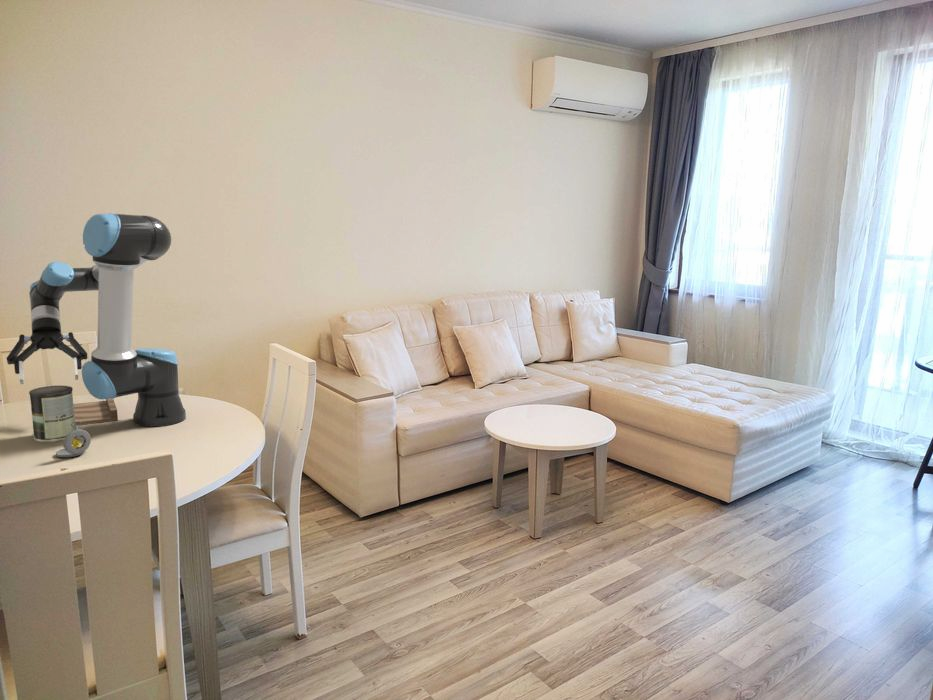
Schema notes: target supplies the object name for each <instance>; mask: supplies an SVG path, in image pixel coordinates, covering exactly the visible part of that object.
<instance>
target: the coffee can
mask: <svg viewBox="0 0 933 700" xmlns="http://www.w3.org/2000/svg"><path fill="white" fill-rule="evenodd" d="M28 394H29V398H30V408H31V418H32V419H31V420H32V429H33V440H34V441H36V442H38V443H39V442H40V443H50V442H51V443H52V442H59V441H60V440H61V441H64V439H65V437H66V435H67V434H68V433H70V432H71V431H73V430H75V428H74V427H72V426H74V424H75V420H74V407H73V404H74V398H73V387H72V386H70V385H69V386H68V385H47V386H41V387H36V388H33V389H31V390H29V392H28ZM73 422H74V423H73ZM72 423H73V424H72ZM71 424H72V426H71Z"/></svg>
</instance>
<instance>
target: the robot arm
mask: <svg viewBox="0 0 933 700" xmlns="http://www.w3.org/2000/svg"><path fill="white" fill-rule="evenodd" d="M82 243H83V244H82V245H84V250H85V251H86V253H87V254H88V255H90V256H92V262H93V263H94V265H93V266H91V267H72V266H71V265H69V264H68V263H66V262H62V261H60V260H59V261H58V260H55V261H51V262H50V263H48V264H47V266H46V267H45V268H44V269H43V271H42V272H41V275H40V277H39V279H38V280H36V281H34V282H32V283H31V284H30V287H29V294H28V295H29V300H30V301H29V302H30V321H31V335H29V336H27V335H26V336H25V335H24V334H19V335H18V336H19V338H18V341H17V342H16V344H15V345H14V346H13V348H12V350H11V351H10V352H9V354H8V356H7V357H6V363H7V364H8V365H14V366H13V367H14V373H15V374H16V375H19V382H20V383H19V384H20V385H24V384H25V383H24V381H25V380H24V362H25V361H27V359H28V358H29V357H30V356H32V355H33V354H34V353H37V352H38V350H47V349H48V350H54V349H57V350H59V351H62V353H65V354H66V355H68V356H69V357H70V358H72V359H73V367H74V376H75V381H76V380H79V372H78V370H81V378H82V382H83V384H84V387H85V388H86V390H87V391H88V393H89V394H90V395H91V396H93V397H94V398H95V399H97V400H106V399H109V398H113V399H116V398H119V397H123V396H129V395H134V394H137V398H138V399H137V402H136V404H135V410H134V413H133V415H132V417H133V419H132V420H133V424H134V425H137V426H141V427H162V426H170V425H174V424H178V423H181V422H184V420H186V419H187V418H186V417H187V413H186V412H187V411H186V409H185V408H184V406H183V403H182V400H181V398H180V394H179V393H180V391H179V373H178V371H179V370H178V365H179V363H178V357H177V354H176V352H175V351H173V350H170V349H164V348H137V349H135V350H134V349H133V348H132V333H133V332H132V331H133V329H132V328H133V325H132V324H133V299H134V297H133V296H134V270H135V269H137V268H138V267H140V266H141V265H143V264H145V263H146V262H148V261H149V262H151V261H156V260H158V259H159V258H161V257H162V256H164V255H165V254H166V253H167V252H169V250H170V247H171V245H172V235H171V231H170V229H169V228H168V227H167V225H166V224H165V223H164V222H162V220H160V219H158V218H156V217H153V216H150V215H136V214H135V215H134V214H126V213H125V214H124V213H121V214H120V213H111V212H109V213H96V214H94V215H92V216H90V218H89V219H88V220H87V221H86V223H85V225H84V228H83V233H82ZM88 291H89V292H90V291H92V292H93V291H98V294H97V295H98V296H97V298H98V300H97V347H96V348H95V349H94V350H92V351H91V353H90V354H91V357H90V360H89V361H86V362H85V363H84V364H82V361H83V360H87V359H88V352H87V350H85V349H84V348H83V347H82V345H81V344H80V343H79V342H78V340H77V339H76V338H75V335H74V333H73V332H71V331H70V332H68V334H63V333H62V327H61V326H62V325H61V317H60V316H61V314H60V313H61V312H60V301H61V299H62V297H63V296H64V294H65V293H66V292H67V293H68V292H69V293H70V292H71V293H72V292H88ZM63 340H65V341H67V342H68V343H69V344H70V345H71V347H73V348H71V347H70V346H69V345H67V344H65V343H64V342H63ZM28 342H31V343H30V345H29V346H27V348H25V345H27V344H28ZM24 348H25V349H24ZM23 349H24V350H23ZM22 350H23V351H22Z"/></svg>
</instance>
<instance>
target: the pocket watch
mask: <svg viewBox="0 0 933 700" xmlns="http://www.w3.org/2000/svg"><path fill="white" fill-rule="evenodd" d="M75 422H80V424H81V421H75ZM73 423H74V422H73ZM73 423H72V424H73ZM72 424H71V426H72ZM80 424H79V425H77V424H74V426H72V427H74V428H75V430H73V431H71V432H70V433H68V434H67V435H66V437H65V439H64V440H63V443H62V444H63V448H62V449H58V450H57V451H56V452H55V455H56V456H57V457H58V458H72V457H73V458H74V457H78V456H81V455H83V454H85V452H86V450H87V449H88V448H89V447H90V445H91V442H92V438H91V435H90V433H89V432H88V431H86V430H85V429H82V428H78V427H79V426H81V425H80Z"/></svg>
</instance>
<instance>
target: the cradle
mask: <svg viewBox="0 0 933 700" xmlns="http://www.w3.org/2000/svg"><path fill="white" fill-rule="evenodd" d="M73 407H74V420H75V421H81V424H80V422H75V424H77V425H79V424H80V425H79V426H82V425H90V424H98V423H99V424H101V423H108V422H109V423H110V422H117V421H119V419H118V418H119V416H118V409H117V406H116V403H115V398H109V399H105V400H99V401H90V402H80V403H73Z"/></svg>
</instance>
